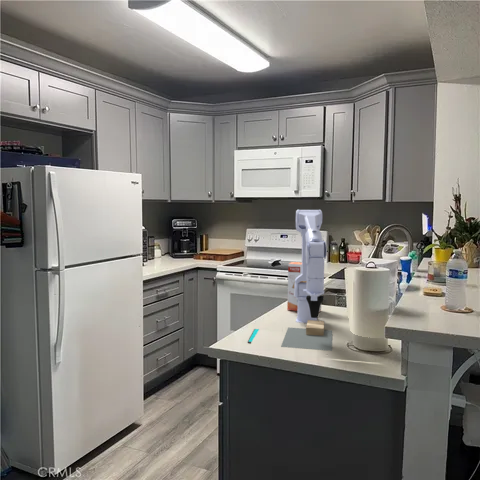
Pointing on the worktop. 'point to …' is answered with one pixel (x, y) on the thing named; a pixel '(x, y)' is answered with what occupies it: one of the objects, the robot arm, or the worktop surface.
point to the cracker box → (293, 272)
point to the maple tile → (315, 327)
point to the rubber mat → (307, 340)
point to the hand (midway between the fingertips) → (314, 317)
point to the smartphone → (253, 335)
